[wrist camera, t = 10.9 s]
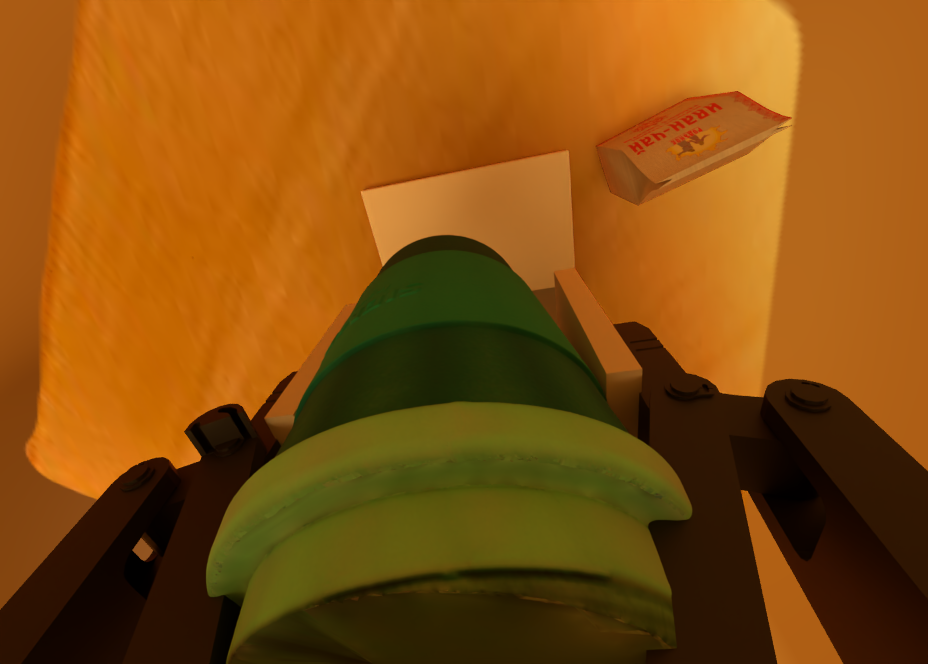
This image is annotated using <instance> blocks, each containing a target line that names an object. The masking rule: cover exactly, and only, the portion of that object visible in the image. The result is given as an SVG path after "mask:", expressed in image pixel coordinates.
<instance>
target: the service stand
mask: <svg viewBox="0 0 928 664" xmlns="http://www.w3.org/2000/svg"><path fill="white" fill-rule="evenodd" d="M361 195H362V198H363V201H364V205H365V208H366V211H367V215H368V218H369V222H370V225H371V228H372V232H373V235H374V238H375V242H376V245H377V249H378V252H379V255H380V259H381V262H382V265H383V266H384V265H385V263H386V262H387V261H388V260H389V259H390V258H391V257H392V256H393V255H394V254H395V253H396V252H398V251H399V250H400V249H402V248H403V247H405V246H407V245H408V244H410V243H413V242H415V241H417V240H420V239H423V238H427V237H431V236H437V235H456V236H463V237H467V238H471V239H474V240H477V241H479V242H481V243H483V244H485V245H487V246H489V247H490V248H492V249H493V250H494V251H496V252H497V253H498V254H499V255H500V256H501V257H502V258H503V259H504V260H505V261H506V262H507V263H508V264H509V266H510V267H511V269H512V270H513V271H514V272H515V273H516V274H518V275H519V276H520V277H521V278H522V279H523V280H524V281H525V282H526V284H527V285H528V286H529V287H530V289H531V290H532V292H533V293H534V295H535V296H536V297H537V299H538V300H539V301H540V303H541V304H542V305H543V307H544V308H545V309H546V311H547V312H548V313H549V315H550V316H551V317H552V319H553V320H554V321H555V323H556V324H557V325H558V322H557V309H556V296H555V283H554V271H558V270H564V269H570V268H575V257H574V238H573V219H572V199H571V180H570V161H569V150H561V151H556V152H551V153H546V154H541V155H536V156H531V157H526V158H521V159H516V160H511V161H506V162H501V163H496V164H491V165H486V166H481V167H476V168H471V169H466V170H461V171H456V172H451V173H446V174H441V175H435V176H430V177H425V178H420V179H415V180H410V181H405V182H400V183H395V184H390V185H385V186H380V187H375V188H370V189H365V190H363V191H361Z"/></svg>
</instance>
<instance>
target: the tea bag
mask: <svg viewBox="0 0 928 664" xmlns="http://www.w3.org/2000/svg"><path fill="white" fill-rule="evenodd" d="M790 119H791V117H787V116H782V115H780V114H778V113H775V112H773V111H771V110H769V109H767V108H765V107H763V106H762V105H760V104H758V103H757V102H755V101H753V100H752V99H750V98H748V97H747V96H745V95H743V94H742V93H740V92H738V91H735V92H728V93H721V94H714V95H707V96H700V97H693V98H687V99H685V100H683V101H682V102H680V103H678V104H676V105H674V106H672V107H670V108H668V109H666V110H664V111H662V112H661V113H659V114H657V115H655V116H653V117H651V118H649V119H647V120H645V121H643V122H641V123H639V124H638V125H636V126H634V127H632V128H630V129H628V130H626V131H624V132H622V133H620V134H618V135H617V136H615V137H613V138H611V139H609V140H607V141H605V142H603V143H601V144H599V145H597V146H596V149H597V152H598V155H599V158H600V161H601V164H602V167H603V170H604V174H605V177H606V180H607V183H608V186H609V189H610V192H611V193H613V194H615V195H617V196H619V197H621V198H623V199H626V200H628V201H630V202H632V203H634V204H636V205H640V204H642V203H645V202H647V201H649V200H651V199H653V198H655V197H657V196H659V195H662V194H664V193H666V192H668V191H670V190H672V189H674V188H676V187H679V186H681V185H683V184H685V183H687V182H689V181H691V180H693V179H695V178H698V177H700V176H702V175H704V174H706V173H708V172H710V171H712V170H715V169H717V168H719V167H721V166H723V165H725V164H727V163H729V162H732V161H734V160H736V159H738V158H740V157H742V156H744V155H746V154H748V153H749V152H751V151H752V150H753V149H755V148H756V147H757V146H758V145H760V144H761V143H762V142H764V141H765V140H766V139H767V138H769V137H770V136H771V135H773V134H775V133H777V132H779V131H782V130H784V129H786V128H788V127H790V126H786V127H781V128H778V127H779V126H781V125H782V124H784V123H785V122H787V121H788V120H790ZM791 126H792V125H791Z"/></svg>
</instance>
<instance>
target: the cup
mask: <svg viewBox="0 0 928 664" xmlns="http://www.w3.org/2000/svg"><path fill="white" fill-rule="evenodd" d="M691 515H692V506H691V503H690V501H689V499H688V496H687V494H686V492H685V490H684V487H683V485H682V483H681V481H680V479H679V478H678V476H677V474H676V473H675V471H674V470H673V469H672V467H671V466H670V465H669V464H668V463H667V462H666V460H665V459H664V458H663V457H662V456H660V455H659V454H658V453H657V452H656V451H655V450H654V449H652V448H651V447H650V446H648V445H647V444H645V443H644V442H642V441H641V440H639V439H637V438H636V437H634V436H632V435H631V434H630V433H629V432H628V431H627V429H626V428H625V427H624V425H623V424H622V423H621V421H620V420H619V419H618V417H617V416H616V414H615V413H614V412H613V410H612V409H611V408H610V406H609V405H608V403H607V400H606V397H605V394H604V392H603V390H602V387H601V386H600V384H599V382H598V380H597V379H596V377H595V376H594V374H593V373H592V371H591V370H590V369H589V368H588V366H587V365H586V364H585V362H584V361H583V359H582V358H581V357H580V355H579V354H578V353H577V351H576V350H575V349H574V347H573V346H572V345H571V343H570V342H569V340H568V339H567V338H566V336H565V335H564V334H563V332H562V331H561V330H560V328H559V327H558V325H557V324H556V323H555V321H554V320H553V319H552V317H551V316H550V315H549V313H548V312H547V311H546V309H545V308H544V307H543V305H542V304H541V303H540V301H539V300H538V299H537V297H536V296H535V295H534V293H533V292H532V290H531V289H530V287H529V286H528V285H527V284H526V282H525V281H524V280H523V279H522V278H521V277H520V276H519V275H518V274H516V273H515V272H514V271H513V270H512V269H511V267H510V266H509V264H508V263H507V262H506V261H505V260H504V259H503V258H502V257H501V256H500V255H499V254H498V253H497V252H496V251H494V250H493V249H492V248H490V247H489V246H487V245H485V244H483V243H481V242H479V241H477V240H474V239H471V238H467V237H463V236H456V235H437V236H431V237H427V238H423V239H420V240H417V241H415V242H413V243H410V244H408V245H407V246H405V247H403V248H402V249H400V250H399V251H398V252H396V253H395V254H394V255H393V256H392V257H391V258H390V259H389V260H388V261H387V262H386V263H385V265H384V266H383V267H382V269H381V271H380V272H379V274H378V276H377V277H376V278H375V279H374V280H373V281H372V282H371V283H370V285H369V286H368V287H367V288H366V290H365V291H364V292H363V294H362V295H361V297H360V299H359V301H358V303H357V304H356V306H355V308H354V309H353V311H352V313H351V315H350V316H349V317H348V319H347V321H346V322H345V323H344V325H343V326H342V328H341V330H340V331H339V332H338V333H337V334H336V336H335V338H334V339H333V341H332V343H331V344H330V346H329V348H328V350H327V351H326V353H325V356H324V359H323V360H322V362H321V365H320V367H319V369H318V371H317V372H316V374H315V376H314V377H313V379H312V381H311V383H310V384H309V386H308V388H307V389H306V391H305V393H304V395H303V396H302V398H301V400H300V403H299V405H298V408H297V411H296V414H295V418H294V423H293V427H292V429H291V430H290V432H289V434H288V435H287V437H286V439H285V441H284V443H283V444H282V446H281V448H280V449H279V451H278V453H277V454H276V456H275V458H273V459H272V460H270V461H269V462H268V463H266V464H265V465H264V466H263V467H261V468H260V469H259V470H258V471H257V472H255V473H254V474H253V475H252V476H251V477H250V478H249V479H248V480H247V481H246V482H245V483H244V485H243V486H242V487H241V488H240V490H239V491H238V492H237V494H236V495H235V496H234V498H233V499H232V501H231V503H230V504H229V506H228V508H227V510H226V512H225V515H224V517H223V520H222V522H221V525H220V528H219V530H218V533H217V535H216V538H215V540H214V543H213V545H212V548H211V551H210V554H209V558H208V563H207V569H206V585H207V591H208V595H209V596H210V597H217V596H221V595H225V596H226V597H228V598H229V599H231V600H232V601H233V602H235V603H236V604H237V605H239V606H240V607H241V611H240V615H239V618H238V621H237V624H236V628H235V631H234V635H233V639H232V642H231V645H230V649H229V652H228V656H227V661H226V664H645V661H646V650H655V649H674V648H677V644H676V634H675V625H674V616H673V608H672V599H671V595H672V592H671V588H670V585H669V583H668V580H667V578H666V575H665V572H664V569H663V566H662V563H661V561H660V557H659V555H658V552H657V549H656V547H655V544H654V542H653V539H652V536H651V534H650V531H649V529H648V524H649V523H650V522H652V521H654V520H676V521H678V520H687V519H689V518H690V517H691Z"/></svg>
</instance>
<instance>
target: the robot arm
mask: <svg viewBox="0 0 928 664" xmlns="http://www.w3.org/2000/svg"><path fill="white" fill-rule="evenodd" d="M554 283H555V296H556V309H557V322H558V327H559V328H560V330H561V331H562V332H563V334H564V335H565V336H566V338H567V339H568V340H569V342H570V343H571V345H572V346H573V347H574V349H575V350H576V351H577V353H578V354H579V355H580V357H581V358H582V359H583V361H584V362H585V364H586V365H587V366H588V368H589V369H590V370H591V371H592V373H593V374H594V376H595V377H596V379H597V380H598V382H599V384H600V386H601V387H602V390H603V392H604V394H605V397H606V400H607V403H608V405H609V406H610V408H611V409H612V410H613V412H614V413H615V414H616V416H617V417H618V419H619V420H620V421H621V423H622V424H623V425H624V427H625V428H626V429H627V431H628V432H629V433H630V434H631V435H632V436H634V437H636V438H637V439H639V440H641V441H642V442H644V443H645V444H647V445H648V446H650V447H651V448H652V449H654V450H655V451H656V452H657V453H658V454H659V455H660V456H662V457H663V458H664V459H665V460H666V462H667V463H668V464H669V465H670V466H671V467H672V469H673V470H674V471H675V473H676V474H677V476H678V478H679V479H680V481H681V483H682V485H683V487H684V490H685V492H686V494H687V496H688V499H689V501H690V503H691V506H692V515H691V517H690V518H689V519H687V520H678V521H676V520H654V521H652V522H650V523H649V524H648V529H649V531H650V534H651V536H652V539H653V542H654V544H655V547H656V549H657V552H658V555H659V557H660V561H661V563H662V566H663V569H664V572H665V575H666V578H667V580H668V583H669V585H670V588H671V592H672V595H671V599H672V608H673V616H674V625H675V634H676V644H677V648H674V649H655V650H646V661H645V664H777V660H776V655H775V650H774V646H773V641H772V636H771V632H770V627H769V622H768V617H767V613H766V608H765V603H764V598H763V594H762V589H761V584H760V579H759V575H758V570H757V565H756V560H755V556H754V551H753V546H752V542H751V537H750V532H749V527H748V523H747V518H746V513H745V508H744V504H743V499H742V494H741V490H745V491H748V493H749V494H750V496H751V498H752V500H753V502H754V503H755V505H756V507H757V509H758V511H759V512H760V514H761V516H762V518H763V519H764V521H765V523H766V525H767V527H768V529H769V530H770V532H771V534H772V536H773V538H774V539H775V541H776V543H777V545H778V547H779V548H780V550H781V552H782V554H783V555H784V557H785V559H786V561H787V563H788V565H789V566H790V568H791V570H792V572H793V574H794V575H795V577H796V579H797V581H798V583H799V584H800V586H801V588H802V590H803V592H804V593H805V595H806V597H807V599H808V601H809V602H810V604H811V606H812V608H813V610H814V611H815V613H816V615H817V617H818V618H819V620H820V622H821V624H822V626H823V628H824V629H825V631H826V633H827V635H828V637H829V638H830V640H831V642H832V644H833V646H834V647H835V649H836V651H837V653H838V655H839V656H840V658H841V660H842V662H843V664H928V471H927V470H926V469H925V468H924V467H923V466H922V465H920V464H919V463H918V462H917V461H916V460H915V459H914V458H913V457H912V456H910V455H909V454H908V453H907V452H906V451H905V450H904V449H903V448H902V447H901V446H900V445H899V444H898V443H896V442H895V441H894V440H893V439H892V438H891V437H890V436H889V435H888V434H887V433H886V432H885V431H884V430H882V429H881V428H880V427H879V426H878V425H877V424H876V423H875V422H874V421H873V420H871V419H870V418H869V417H868V416H867V415H866V414H865V413H864V412H863V411H862V410H861V409H860V408H859V407H857V406H856V405H855V404H854V403H853V402H852V401H851V400H850V399H849V398H848V397H846V396H845V395H843V394H842V393H840V392H839V391H837V390H835V389H833V388H831V387H828V386H825V385H823V384H820V383H816V382H811V381H807V380H798V379H785V380H779V381H775V382H773V383H771V384H770V385H768V386H767V388H766V391H765V394H764V397H751V396H738V395H729V394H722V393H720V392H719V391H718V389H717V387H716V386H715V385H714V384H712V383H711V382H710V381H708V380H707V379H704V378H702V377H699V376H697V375H693V374H687V373H686V372H685V371H684V370H683V369H682V368H681V366H680V365H679V364H678V363H677V362H676V360H675V359H674V358H673V357H672V356H671V354H670V353H669V352H668V351H667V350H666V348H664V347H663V345H662V344H661V343H660V341H659V340H657V338H656V337H655V335H654V334H653V333H652V332H651V331H650V329H649V328H647V327H645V326H643V325H641V324H639V323H637V322H628V323H621V324H614V325H613V324H612V323H611V321H610V320H609V319H608V317H607V316H606V314H605V313H604V311H603V310H602V308H601V307H600V305H599V304H598V302H597V301H596V299H595V298H594V296H593V295H592V293H591V292H590V290H589V289H588V287H587V286H586V284H585V283H584V281H583V280H582V278H581V277H580V275H579V274H578V272H577V271H576V269H575V268H570V269H564V270H558V271H554ZM356 304H357V303H356ZM356 304H350V305H346V306H345V307H344V308H343V310H342V311H341V312H340V314H339V315H338V317H337V318H336V319H335V321H334V322H333V324H332V325H331V326H330V328H329V329H328V330H327V332H326V333H325V335H324V336H323V337H322V339H321V340H320V342H319V343H318V344H317V346H316V347H315V348H314V350H313V351H312V353H311V354H310V355H309V357H308V358H307V360H306V361H305V362H304V364H303V365H302V366H301V368H300V369H299V371H297V372H292V373H291V374H290V375H289V376H287V377H286V378H285V379H283V380H282V381H281V382H280V383H279V384H278V386H277V387H276V388H275V390H274V391H273V392H272V395H270V396H269V397H268V399H267V400H266V403H264V404H263V405H262V407H261V408H260V409H259V411H258V412H257V413H256V415H255V416H254V417H253V418H252V420H251V421H250V419H249V417H248V416H247V414H246V412H245V411H244V409H243V407H242V406H240V405H239V404H227V405H223V406H219V407H217V408H215V409H212V410H210V411H208V412H206V413H205V414H203V415H201V416H200V417H198V418H197V419H196V420H194V421H193V422H192V423H191V424H190V425H189V426H188V427H187V429H186V430H185V431H184V432H185V434H186V435H187V436H188V438H189V439H190V441H191V442H192V443H193V445H194V446H195V448H196V449H197V451H198V452H199V453H200V455H201V456H202V457H201V460H200V461H199V462H196V463H193V464H190V465H187V466H184V467H181V468H179V469H176V468H175V467H174V466H173V465H172V463H171V462H170V461H169V460H168V459H166V458H164V457H161V458H153V459H150V460H147V461H143V462H141V463H139V464H138V465H135V466H133V467H131V468H130V469H129V470H128V471H127V472H125V473H124V474H122V475H121V476H120V477H119V478H118V479H117V480H115V481H114V482H113V483H112V484H111V485H110V486H109V488H108V489H107V490H106V491H105V492H104V493H103V494H102V495H101V497H100V498H99V499H98V500H97V501H96V502H95V503H94V505H93V506H92V507H91V508H90V509H89V510H88V511H87V512H86V514H85V515H84V516H83V517H82V518H81V519H80V520H79V522H78V523H77V524H76V525H75V526H74V527H73V528H72V529H71V531H70V532H69V533H68V534H67V535H66V536H65V537H64V538H63V540H62V541H61V542H60V543H59V544H58V545H57V546H56V547H55V549H54V550H53V551H52V552H51V553H50V554H49V555H48V557H47V558H46V559H45V560H44V561H43V562H42V563H41V564H40V566H39V567H38V568H37V569H36V570H35V571H34V572H33V573H32V575H31V576H30V577H29V578H28V579H27V580H26V581H25V582H24V584H23V585H22V586H21V587H20V588H19V589H18V591H17V592H16V593H15V594H14V595H13V596H12V597H11V598H10V599H9V601H8V602H7V603H6V604H5V605H4V606H3V608H1V610H0V664H226V661H227V656H228V652H229V649H230V645H231V642H232V639H233V635H234V631H235V628H236V624H237V621H238V618H239V615H240V611H241V607H240V606H239V605H237V604H236V603H235V602H233V601H232V600H231V599H229V598H228V597H226V596H225V595H221V596H217V597H210V596H209V595H208V591H207V585H206V569H207V563H208V558H209V554H210V551H211V548H212V545H213V543H214V540H215V538H216V535H217V533H218V530H219V528H220V525H221V522H222V520H223V517H224V515H225V512H226V510H227V508H228V506H229V504H230V503H231V501H232V499H233V498H234V496H235V495H236V494H237V492H238V491H239V490H240V488H241V487H242V486H243V485H244V483H245V482H246V481H247V480H248V479H249V478H250V477H251V476H252V475H253V474H254V473H255V472H257V471H258V470H259V469H260V468H261V467H263V466H264V465H265V464H266V463H268V462H269V461H270V460H272V459H273V458H275V456H276V454H277V453H278V451H279V449H280V448H281V446H282V444H283V443H284V441H285V439H286V437H287V435H288V434H289V432H290V430H291V429H292V427H293V423H294V418H295V414H296V411H297V408H298V405H299V403H300V400H301V398H302V396H303V395H304V393H305V391H306V389H307V388H308V386H309V384H310V383H311V381H312V379H313V377H314V376H315V374H316V372H317V371H318V369H319V367H320V365H321V362H322V360H323V359H324V356H325V353H326V351H327V350H328V348H329V346H330V344H331V343H332V341H333V339H334V338H335V336H336V334H337V333H338V332H339V331H340V330H341V328H342V326H343V325H344V323H345V322H346V321H347V319H348V317H349V316H350V315H351V313H352V311H353V309H354V308H355V306H356ZM140 538H142V539H143V540H144V541H145V542H146V543H147V544H148V545H149V546H150V547H151V548H152V549H153V552H152V554H151V555H150V557H149V558H148V559H147V560H146V561H143V560H141V559H140V558H139V557H138V556H137V555H136V554H135V553H134V552H133V551H132V549H133V548H134V547H135V545H136V544H137V542H138V541H139V540H140Z"/></svg>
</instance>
